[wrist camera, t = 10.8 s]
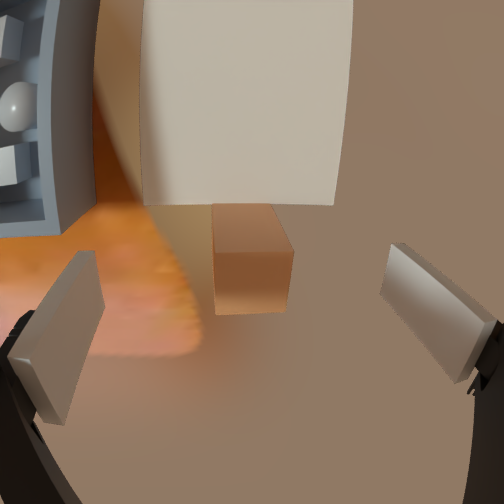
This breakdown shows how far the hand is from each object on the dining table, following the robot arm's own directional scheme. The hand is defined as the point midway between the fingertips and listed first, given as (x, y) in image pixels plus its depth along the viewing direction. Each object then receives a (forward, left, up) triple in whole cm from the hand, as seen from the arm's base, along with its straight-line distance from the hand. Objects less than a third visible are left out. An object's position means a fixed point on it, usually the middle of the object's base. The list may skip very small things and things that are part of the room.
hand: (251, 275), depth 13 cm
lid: (-9, 0, -8) cm, 12 cm away
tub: (-9, -15, -8) cm, 19 cm away
